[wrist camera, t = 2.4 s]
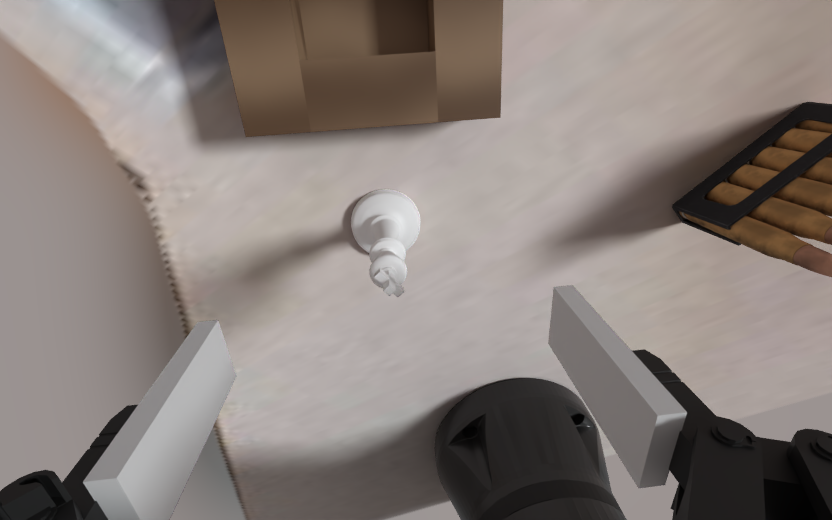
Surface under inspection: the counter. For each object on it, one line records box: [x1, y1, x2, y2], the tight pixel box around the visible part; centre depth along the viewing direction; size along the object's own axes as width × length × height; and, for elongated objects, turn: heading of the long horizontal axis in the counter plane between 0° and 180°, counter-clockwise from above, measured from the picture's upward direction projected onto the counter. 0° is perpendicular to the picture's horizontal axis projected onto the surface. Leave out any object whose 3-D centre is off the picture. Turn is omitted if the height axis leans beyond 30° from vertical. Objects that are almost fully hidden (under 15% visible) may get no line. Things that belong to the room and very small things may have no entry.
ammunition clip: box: [672, 102, 832, 277], centre depth 24 cm, size 11×2×12 cm, turn 133°
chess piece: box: [351, 189, 420, 297], centre depth 24 cm, size 5×5×10 cm
